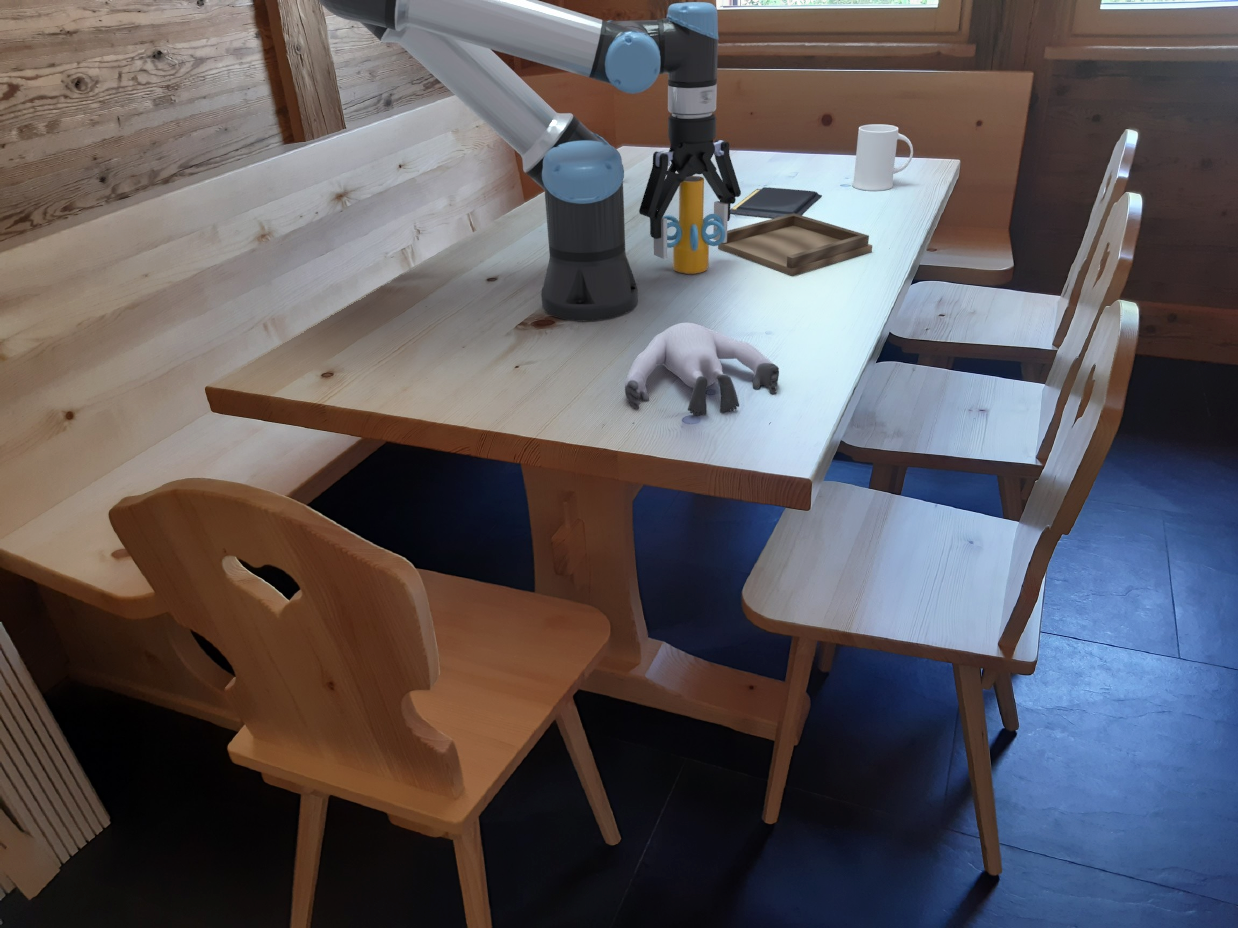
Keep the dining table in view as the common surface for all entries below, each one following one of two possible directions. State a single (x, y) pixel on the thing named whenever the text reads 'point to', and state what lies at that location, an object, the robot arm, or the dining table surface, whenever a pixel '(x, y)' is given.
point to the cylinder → (692, 229)
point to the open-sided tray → (795, 243)
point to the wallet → (775, 203)
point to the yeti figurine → (698, 365)
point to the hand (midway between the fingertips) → (690, 248)
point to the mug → (877, 157)
